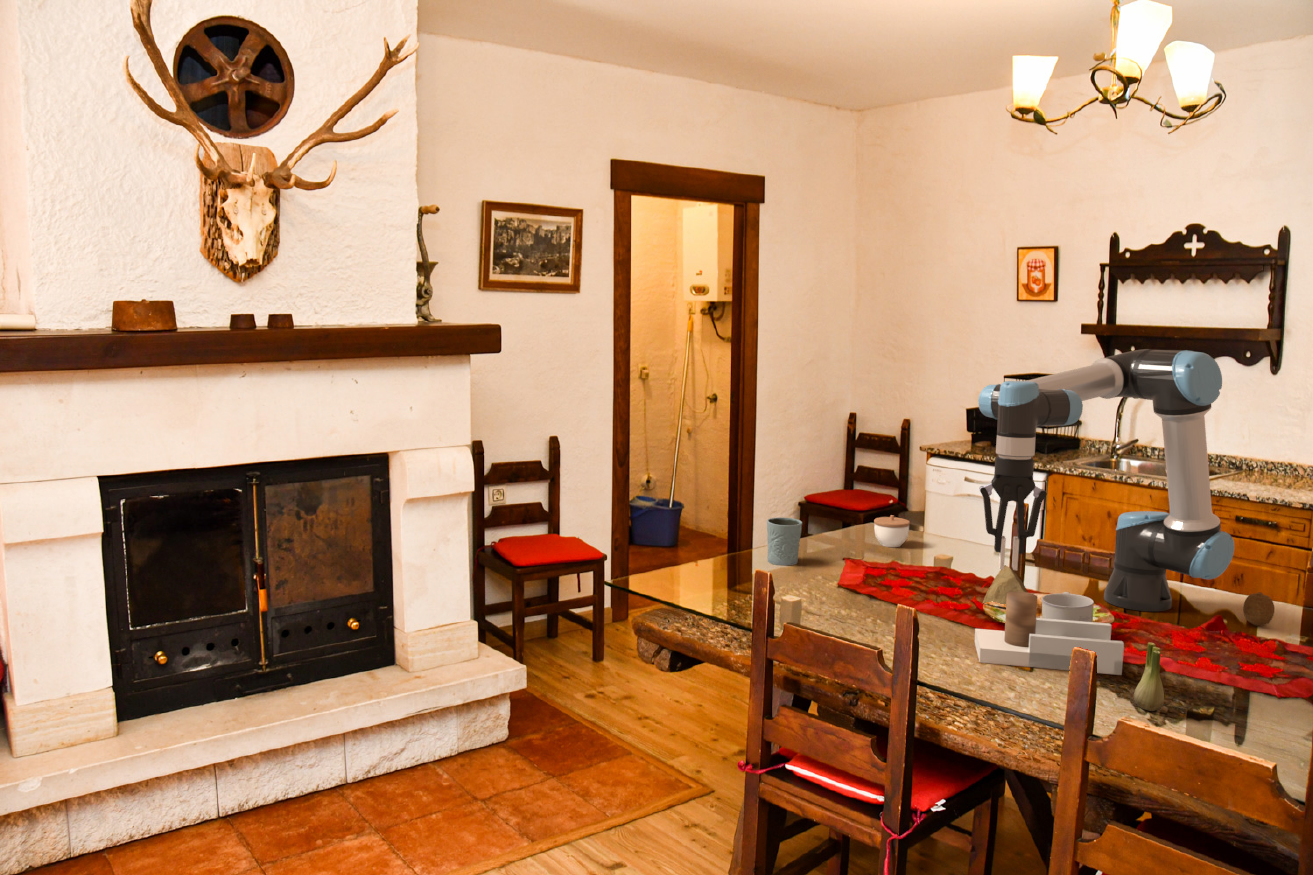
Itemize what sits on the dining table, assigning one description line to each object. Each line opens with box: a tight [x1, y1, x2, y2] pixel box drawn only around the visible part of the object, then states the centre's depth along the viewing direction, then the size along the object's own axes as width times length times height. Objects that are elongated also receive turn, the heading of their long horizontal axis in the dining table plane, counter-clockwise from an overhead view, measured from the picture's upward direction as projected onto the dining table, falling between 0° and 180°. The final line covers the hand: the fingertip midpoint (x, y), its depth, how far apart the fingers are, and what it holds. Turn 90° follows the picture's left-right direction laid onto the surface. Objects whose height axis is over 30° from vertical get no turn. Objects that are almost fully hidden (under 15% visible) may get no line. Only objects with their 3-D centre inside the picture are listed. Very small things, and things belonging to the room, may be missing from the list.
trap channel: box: [974, 617, 1125, 676], centre depth 202 cm, size 27×13×6 cm, turn 76°
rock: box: [982, 564, 1029, 604], centre depth 237 cm, size 11×9×10 cm
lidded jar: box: [873, 514, 911, 548], centre depth 300 cm, size 11×11×9 cm
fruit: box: [1242, 592, 1275, 627], centre depth 225 cm, size 6×6×8 cm
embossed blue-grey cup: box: [766, 516, 803, 567], centre depth 278 cm, size 10×10×12 cm
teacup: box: [1041, 591, 1095, 622], centre depth 220 cm, size 14×11×8 cm
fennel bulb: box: [1133, 642, 1165, 712], centre depth 177 cm, size 6×5×12 cm
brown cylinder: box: [1004, 592, 1038, 647], centre depth 203 cm, size 6×6×10 cm
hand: (1007, 567), depth 202 cm, fingers open, 2 cm apart
